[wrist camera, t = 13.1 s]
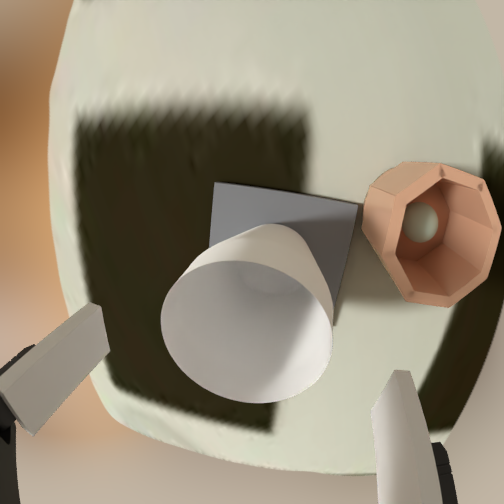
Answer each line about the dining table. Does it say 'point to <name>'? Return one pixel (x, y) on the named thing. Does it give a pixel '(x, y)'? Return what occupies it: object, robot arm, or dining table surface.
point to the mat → (288, 222)
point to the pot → (445, 239)
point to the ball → (419, 222)
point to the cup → (251, 317)
